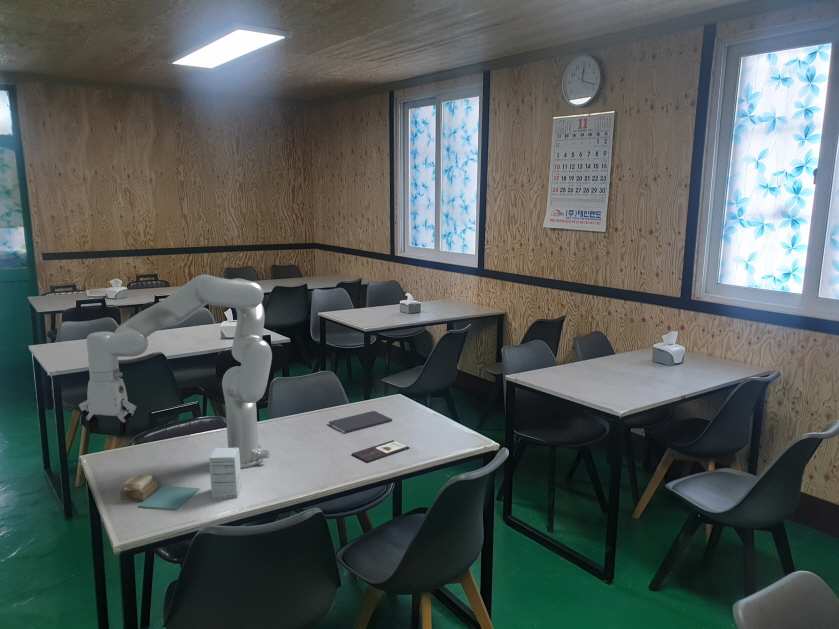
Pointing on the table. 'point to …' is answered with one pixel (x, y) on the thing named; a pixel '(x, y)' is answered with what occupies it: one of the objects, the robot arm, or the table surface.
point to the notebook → (359, 421)
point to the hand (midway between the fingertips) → (109, 433)
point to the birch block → (138, 482)
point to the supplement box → (225, 473)
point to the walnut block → (139, 493)
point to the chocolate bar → (380, 451)
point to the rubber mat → (169, 497)
